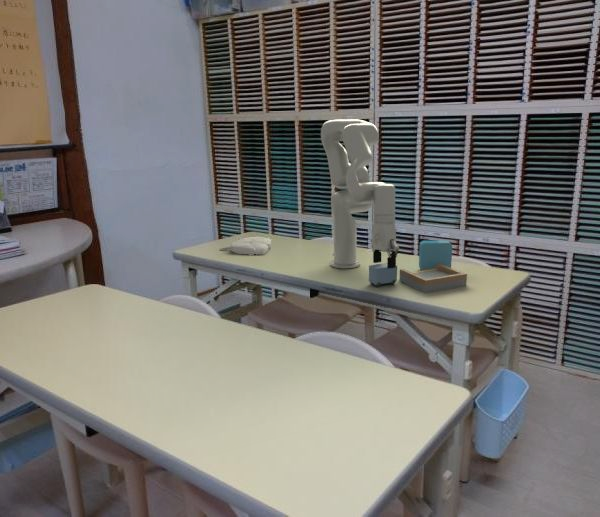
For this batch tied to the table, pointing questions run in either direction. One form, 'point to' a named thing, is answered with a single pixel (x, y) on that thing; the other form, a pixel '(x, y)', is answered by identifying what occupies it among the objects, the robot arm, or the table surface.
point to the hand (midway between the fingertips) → (384, 265)
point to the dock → (434, 278)
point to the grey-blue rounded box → (382, 274)
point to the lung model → (250, 246)
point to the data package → (434, 254)
